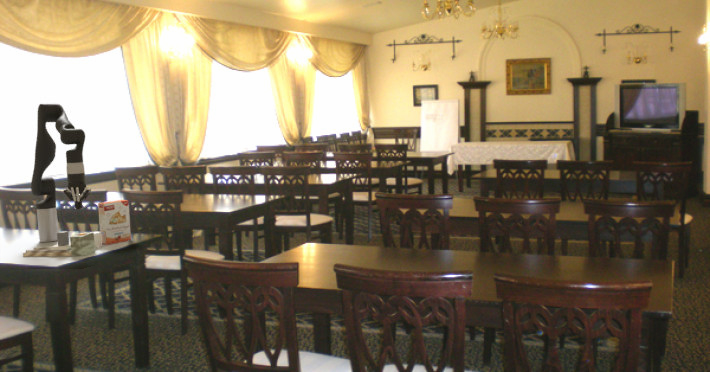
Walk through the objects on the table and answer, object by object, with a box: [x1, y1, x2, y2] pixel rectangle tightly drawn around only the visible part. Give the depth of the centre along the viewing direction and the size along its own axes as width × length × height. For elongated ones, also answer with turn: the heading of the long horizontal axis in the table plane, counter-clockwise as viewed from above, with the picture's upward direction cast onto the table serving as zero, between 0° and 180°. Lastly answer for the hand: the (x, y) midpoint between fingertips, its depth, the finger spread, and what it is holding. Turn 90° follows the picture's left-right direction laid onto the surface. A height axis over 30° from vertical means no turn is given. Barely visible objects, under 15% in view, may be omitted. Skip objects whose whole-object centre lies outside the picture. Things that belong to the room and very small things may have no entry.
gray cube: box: [49, 230, 71, 250], centre depth 301 cm, size 8×9×8 cm
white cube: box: [88, 230, 102, 248], centre depth 316 cm, size 7×7×7 cm
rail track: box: [22, 232, 96, 257], centre depth 302 cm, size 30×10×9 cm, turn 83°
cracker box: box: [97, 199, 132, 246], centre depth 325 cm, size 14×6×21 cm, turn 143°
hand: (78, 209), depth 299 cm, fingers closed
